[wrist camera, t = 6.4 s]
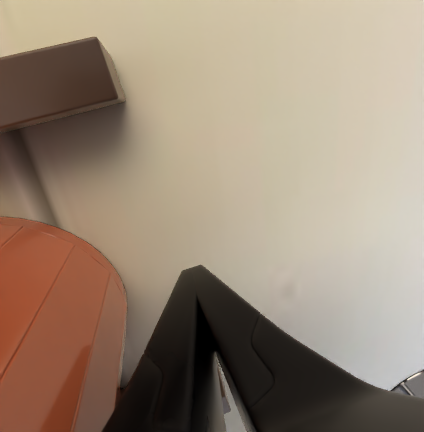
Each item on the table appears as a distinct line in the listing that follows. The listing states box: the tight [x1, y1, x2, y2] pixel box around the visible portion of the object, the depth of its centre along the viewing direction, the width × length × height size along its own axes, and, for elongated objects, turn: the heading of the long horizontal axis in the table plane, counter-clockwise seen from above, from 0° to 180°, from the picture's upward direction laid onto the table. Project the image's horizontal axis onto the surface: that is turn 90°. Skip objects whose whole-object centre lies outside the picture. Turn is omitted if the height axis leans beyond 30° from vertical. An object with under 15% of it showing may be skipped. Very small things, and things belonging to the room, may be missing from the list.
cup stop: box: [0, 37, 231, 414], centre depth 8 cm, size 12×14×2 cm
